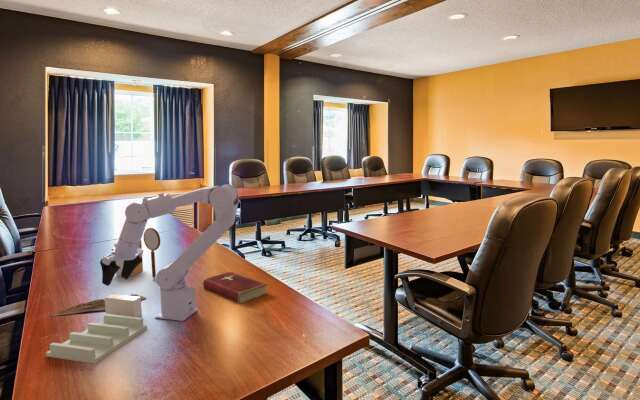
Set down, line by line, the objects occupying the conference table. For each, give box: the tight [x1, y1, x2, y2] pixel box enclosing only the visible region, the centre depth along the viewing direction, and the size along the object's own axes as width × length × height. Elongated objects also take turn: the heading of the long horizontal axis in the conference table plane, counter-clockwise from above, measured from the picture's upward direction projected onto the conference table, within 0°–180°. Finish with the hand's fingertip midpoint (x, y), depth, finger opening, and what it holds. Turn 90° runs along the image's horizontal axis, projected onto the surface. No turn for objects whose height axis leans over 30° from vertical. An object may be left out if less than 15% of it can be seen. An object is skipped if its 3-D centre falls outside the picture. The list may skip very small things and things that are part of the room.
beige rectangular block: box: [104, 293, 143, 318], centre depth 115 cm, size 10×3×6 cm, turn 77°
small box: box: [113, 240, 144, 278], centre depth 153 cm, size 8×6×13 cm
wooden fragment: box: [52, 293, 147, 317], centre depth 122 cm, size 26×11×1 cm, turn 119°
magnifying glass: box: [143, 227, 161, 280], centre depth 146 cm, size 9×2×20 cm, turn 61°
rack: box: [45, 313, 148, 364], centre depth 100 cm, size 14×18×3 cm
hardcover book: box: [202, 270, 268, 305], centre depth 135 cm, size 12×21×4 cm, turn 48°
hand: (115, 280), depth 115 cm, fingers open, 7 cm apart
